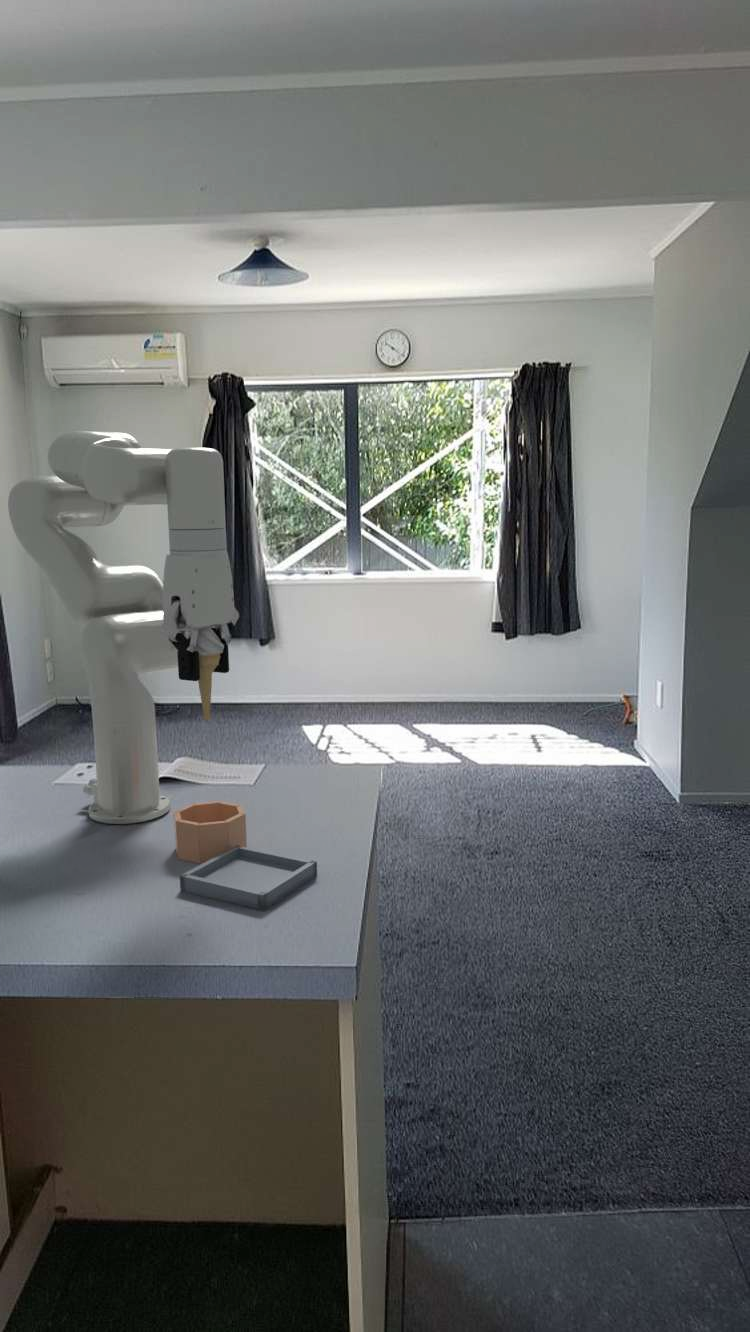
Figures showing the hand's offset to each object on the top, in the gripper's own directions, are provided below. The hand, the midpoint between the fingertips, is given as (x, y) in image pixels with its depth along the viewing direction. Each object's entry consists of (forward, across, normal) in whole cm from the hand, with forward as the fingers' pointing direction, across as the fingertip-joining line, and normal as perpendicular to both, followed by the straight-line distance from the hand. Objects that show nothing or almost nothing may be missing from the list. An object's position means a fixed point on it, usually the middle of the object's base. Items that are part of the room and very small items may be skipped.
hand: (204, 674), depth 131 cm
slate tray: (+25, +7, +11) cm, 29 cm away
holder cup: (+25, 0, 0) cm, 25 cm away
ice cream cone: (+7, 0, 0) cm, 7 cm away
